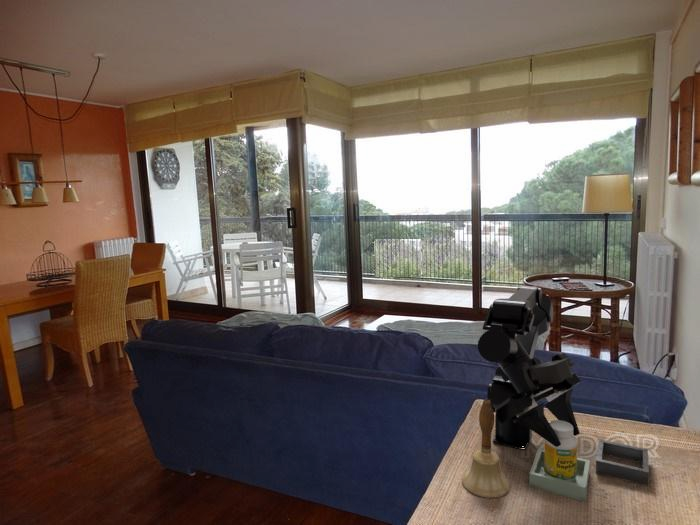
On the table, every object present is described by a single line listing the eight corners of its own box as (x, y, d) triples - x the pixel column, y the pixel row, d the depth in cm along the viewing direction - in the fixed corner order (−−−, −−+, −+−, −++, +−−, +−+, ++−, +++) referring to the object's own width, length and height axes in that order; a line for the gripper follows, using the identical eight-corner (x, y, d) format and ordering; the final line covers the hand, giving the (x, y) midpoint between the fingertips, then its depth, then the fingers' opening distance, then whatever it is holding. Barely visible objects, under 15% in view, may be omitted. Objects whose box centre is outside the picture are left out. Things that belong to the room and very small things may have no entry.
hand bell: (510, 473, 87) (510, 392, 84) (509, 502, 79) (510, 414, 77) (464, 466, 90) (463, 388, 87) (459, 493, 82) (458, 408, 79)
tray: (529, 486, 83) (529, 473, 82) (538, 460, 90) (538, 448, 90) (585, 501, 78) (585, 488, 78) (589, 472, 86) (590, 460, 85)
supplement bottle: (564, 463, 87) (566, 416, 86) (583, 481, 82) (584, 431, 80) (538, 467, 86) (538, 419, 85) (554, 485, 81) (556, 435, 80)
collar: (595, 472, 86) (596, 460, 85) (598, 450, 92) (599, 439, 92) (648, 485, 81) (648, 472, 81) (646, 461, 88) (647, 449, 88)
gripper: (509, 353, 78) (569, 442, 71) (572, 330, 89) (630, 405, 81) (473, 382, 86) (524, 465, 79) (535, 358, 96) (585, 429, 89)
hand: (568, 440), depth 82 cm, fingers open, 5 cm apart
